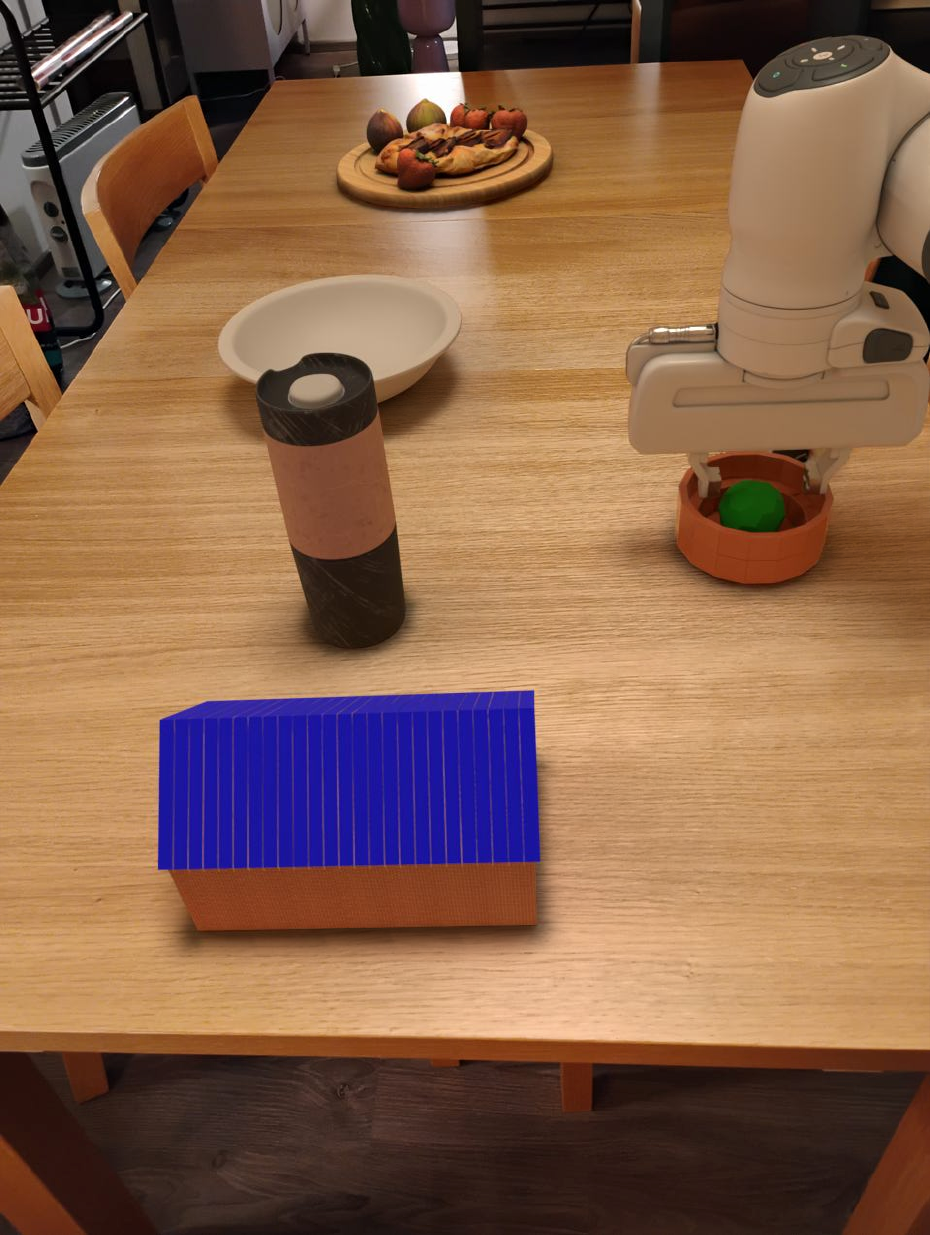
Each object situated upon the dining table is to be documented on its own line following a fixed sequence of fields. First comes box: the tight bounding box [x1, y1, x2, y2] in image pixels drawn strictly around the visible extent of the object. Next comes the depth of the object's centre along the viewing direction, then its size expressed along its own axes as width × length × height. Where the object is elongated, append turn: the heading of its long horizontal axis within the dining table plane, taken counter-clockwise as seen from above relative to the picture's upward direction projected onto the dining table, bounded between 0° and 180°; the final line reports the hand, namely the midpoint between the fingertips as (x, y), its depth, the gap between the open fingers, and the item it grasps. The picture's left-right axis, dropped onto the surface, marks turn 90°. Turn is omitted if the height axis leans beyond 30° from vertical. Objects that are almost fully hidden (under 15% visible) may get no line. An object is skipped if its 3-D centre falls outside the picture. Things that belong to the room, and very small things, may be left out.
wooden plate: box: [335, 98, 555, 209], centre depth 144 cm, size 32×32×8 cm
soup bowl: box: [217, 273, 463, 404], centre depth 100 cm, size 24×24×7 cm
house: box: [157, 689, 541, 931], centre depth 56 cm, size 12×20×12 cm, turn 89°
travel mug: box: [254, 353, 406, 649], centre depth 69 cm, size 8×8×20 cm
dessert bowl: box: [674, 451, 835, 584], centre depth 77 cm, size 11×11×5 cm
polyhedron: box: [718, 480, 786, 533], centre depth 77 cm, size 5×5×5 cm
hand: (760, 491), depth 75 cm, fingers open, 6 cm apart
